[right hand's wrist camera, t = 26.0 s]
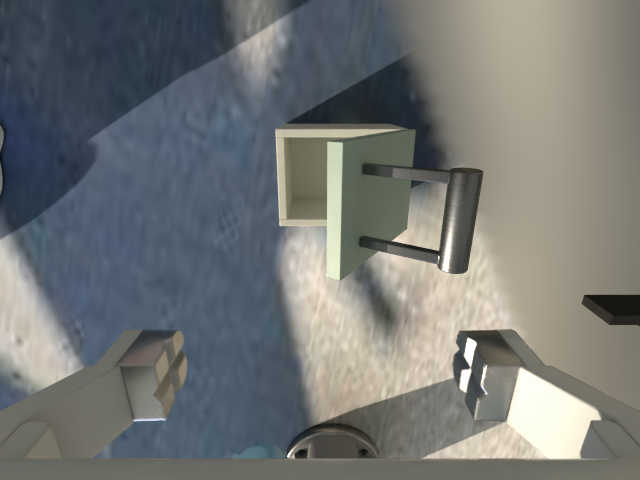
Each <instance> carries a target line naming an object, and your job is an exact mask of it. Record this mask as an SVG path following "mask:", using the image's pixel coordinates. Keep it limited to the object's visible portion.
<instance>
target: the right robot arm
mask: <svg viewBox="0 0 640 480" xmlns="http://www.w3.org/2000/svg"><path fill="white" fill-rule="evenodd" d="M3 140H4V132H3V129H2V127H1V126H0V151H1V148H2V144H3ZM2 184H3V176H2V169H1V163H0V194H1V191H2ZM183 343H184V340H183V335H182V333H181V332H180V331H179V330H127V331H124V332H123V334H122V335H121V336H120V337H119V338H118V339H117V340H116V342H115V343H114V344H113V345H112V346H111V347H110V349H109V350H108V351H107V352H106V353H105V354H104V355H103V357H102V358H101V359H100V360H99V361H98V362H97V363H96V365H95V366H88V367H86V368H84V369H82V370H80V371H78V372H76V373H74V374H72V375H70V376H68V377H66V378H64V379H62V380H60V381H58V382H56V383H54V384H52V385H51V386H49V387H47V388H45V389H43V390H41V391H39V392H37V393H35V394H33V395H31V396H29V397H27V398H25V399H23V400H21V401H19V402H17V403H15V404H13V405H11V406H9V407H7V408H5V409H4V410H2V411H0V480H640V411H638V410H636V409H634V408H632V407H630V406H628V405H626V404H625V403H623V402H621V401H619V400H617V399H615V398H613V397H611V396H609V395H607V394H605V393H603V392H601V391H599V390H597V389H595V388H593V387H591V386H589V385H587V384H585V383H583V382H582V381H580V380H578V379H576V378H574V377H572V376H570V375H568V374H566V373H564V372H562V371H560V370H558V369H556V368H554V367H552V366H545V365H544V363H543V362H542V361H541V360H540V359H539V358H538V357H537V355H536V354H535V353H534V352H533V351H532V350H531V349H530V347H529V346H528V345H527V344H526V343H525V342H524V341H523V339H522V338H521V337H520V336H519V335H518V334H517V332H516V331H514V330H512V329H505V330H477V331H459V333H458V335H457V340H456V343H457V345H458V347H459V349H460V350H459V351H458V352H457V353H456V354H455V355H454V359H453V373H454V378H455V381H456V383H457V386H458V388H459V389H460V390H462V391H463V392H464V393H466V397H465V402H466V404H467V406H468V408H469V410H470V412H471V414H472V416H473V418H474V420H485V421H507V422H506V423H507V424H509V425H510V426H511V427H512V428H513V429H514V430H516V431H517V432H518V433H519V434H520V435H521V436H523V437H524V438H525V439H526V440H527V441H528V442H530V443H531V444H532V445H533V446H534V447H536V448H537V449H538V450H539V451H540V452H541V453H543V454H544V455H545V456H546V457H547V458H548V459H280V458H263V459H100V458H93V457H94V456H95V455H96V454H98V453H99V452H100V451H101V450H102V449H103V448H105V447H106V446H107V445H108V444H109V443H110V442H112V441H113V440H114V439H115V438H116V437H118V436H119V435H120V434H121V433H122V432H123V431H125V430H126V429H127V428H128V427H129V426H130V425H132V424H133V423H134V422H133V421H154V420H166V418H167V416H168V414H169V412H170V410H171V408H172V406H173V404H174V402H175V397H174V393H176V392H177V391H178V390H180V389H181V388H182V386H183V383H184V381H185V377H186V373H187V358H186V355H185V354H184V353H183V352H182V351H181V350H180V349H181V347H182V345H183Z"/></svg>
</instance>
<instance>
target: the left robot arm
mask: <svg viewBox="0 0 640 480" xmlns="http://www.w3.org/2000/svg"><path fill="white" fill-rule="evenodd" d="M582 304H583V305H584V306H585V307H587V308H588V309H589V310H591V311H592V312H593V313H594V314H596V315H597V316H599V317H600V318H601V319H602V320H604V321H605V322H606V323H608V324H609V325H639V326H640V295H584V298H583V301H582ZM263 458H280V459H379V457H378V452H377V448H376V446H375V444H374V443H373V441H372V440H371V439H370V438H369V437H368V436H367V435H365V434H364V433H363V432H361V431H359V430H357V429H354V428H352V427H348V426H343V425H322V426H317V427H313V428H311V429H308V430H306V431H304V432H302V433H301V434H299V435H298V436H297V437H296V438H295V439H294V440H293V441H292V442H291V443H290V445H289V447H288V449H287V452H285V451H284V450H282V449H279V448H278V447H277V446H276V445H274V444H273V443H270V442H259V443H256V444H254V445H251V446H250V447H248V448H247V449H246V450H244V451H243V452H241V453H240V454H238V455H237V456H236V457H235V458H234V459H263Z"/></svg>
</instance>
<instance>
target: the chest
mask: <svg viewBox="0 0 640 480" xmlns="http://www.w3.org/2000/svg"><path fill="white" fill-rule="evenodd" d="M402 129H406V128H403V127H399V126H396V125H392V124H284V125H282V126H280V127H279V128H277V129H276V148H277V171H278V195H279V218H280V226H327V142H328V141H332V140H338V139H345V138H351V137H357V136H364V135H370V134H377V133H383V132H389V131H396V130H402Z"/></svg>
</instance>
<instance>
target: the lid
mask: <svg viewBox="0 0 640 480" xmlns="http://www.w3.org/2000/svg"><path fill="white" fill-rule="evenodd" d="M415 134H416V130H413V129H402V130H396V131H389V132H383V133H377V134H370V135H364V136H357V137H351V138H345V139H338V140H332V141H328V142H327V277H328V278H332V279H335V280H339V281H341V280H342V279H343V278H344V277H346V276H347V275H348V274H350V273H351V272H352V271H353V270H355V269H356V268H357V267H359V266H360V265H361V264H362V263H364V262H365V261H366V260H368V259H369V258H370V257H371V256H373V255H374V254H375V253H377V252H378V251H381V252H386V253H390V254H395V255H399V256H403V257H408V258H412V259H417V260H421V261H425V262H430V263H434V264H437V266H438V268H439V269H440V270H442V271H444V272H447V273H452V274H462V273H465V272H466V271H467V270H468V264H469V258H470V252H471V245H472V239H473V233H474V227H475V221H476V215H477V209H478V202H479V196H480V190H481V184H482V178H483V171H482V170H479V169H473V168H452V169H450V170H439V169H428V168H417V167H413V156H414V145H415ZM411 180H417V181H426V182H435V183H444V184H448V186H447V193H446V201H445V209H444V217H443V224H442V232H441V240H440V248H439V251H436V250H432V249H427V248H422V247H417V246H412V245H407V244H403V243H398V242H393V241H392V240H393V239H394V238H396V237H397V236H398V235H400V234H401V233H402V232H403V231H405V230H406V229H407V222H408V211H409V200H410V189H411Z"/></svg>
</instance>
